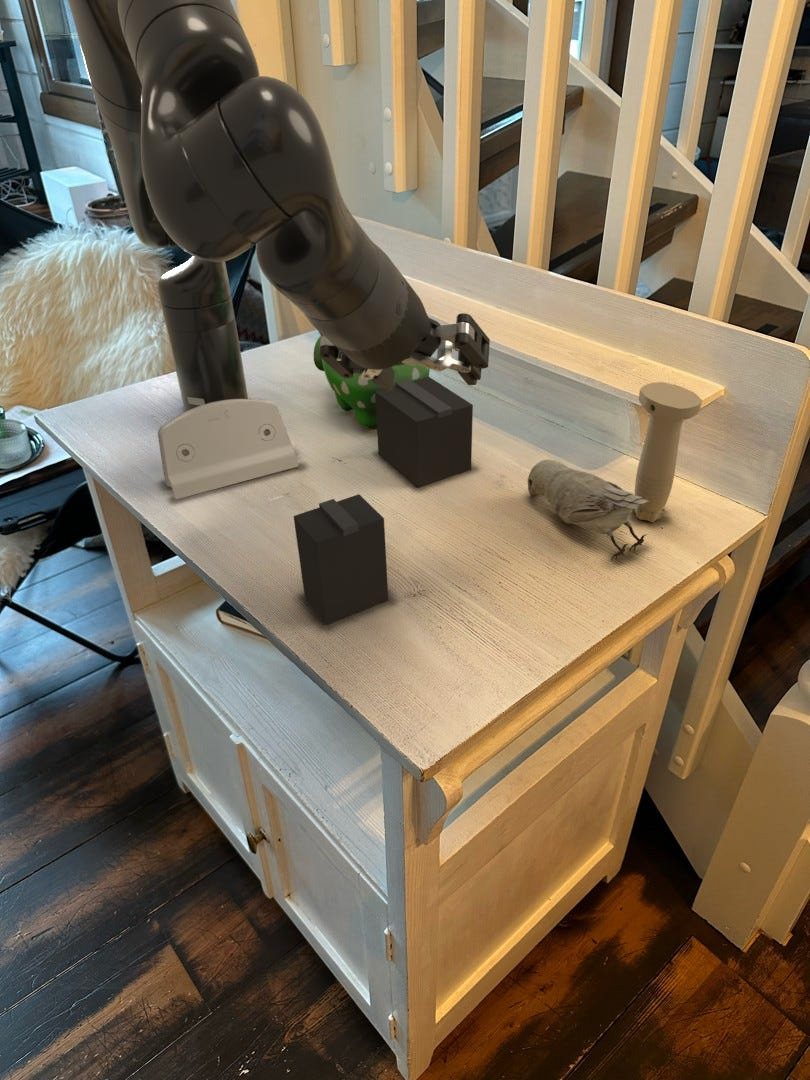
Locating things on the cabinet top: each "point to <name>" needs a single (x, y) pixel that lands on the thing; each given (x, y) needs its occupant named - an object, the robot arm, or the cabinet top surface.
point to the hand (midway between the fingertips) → (431, 378)
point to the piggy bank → (363, 388)
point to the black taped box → (424, 430)
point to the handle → (661, 444)
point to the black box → (342, 557)
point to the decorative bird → (585, 499)
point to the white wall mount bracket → (223, 445)
